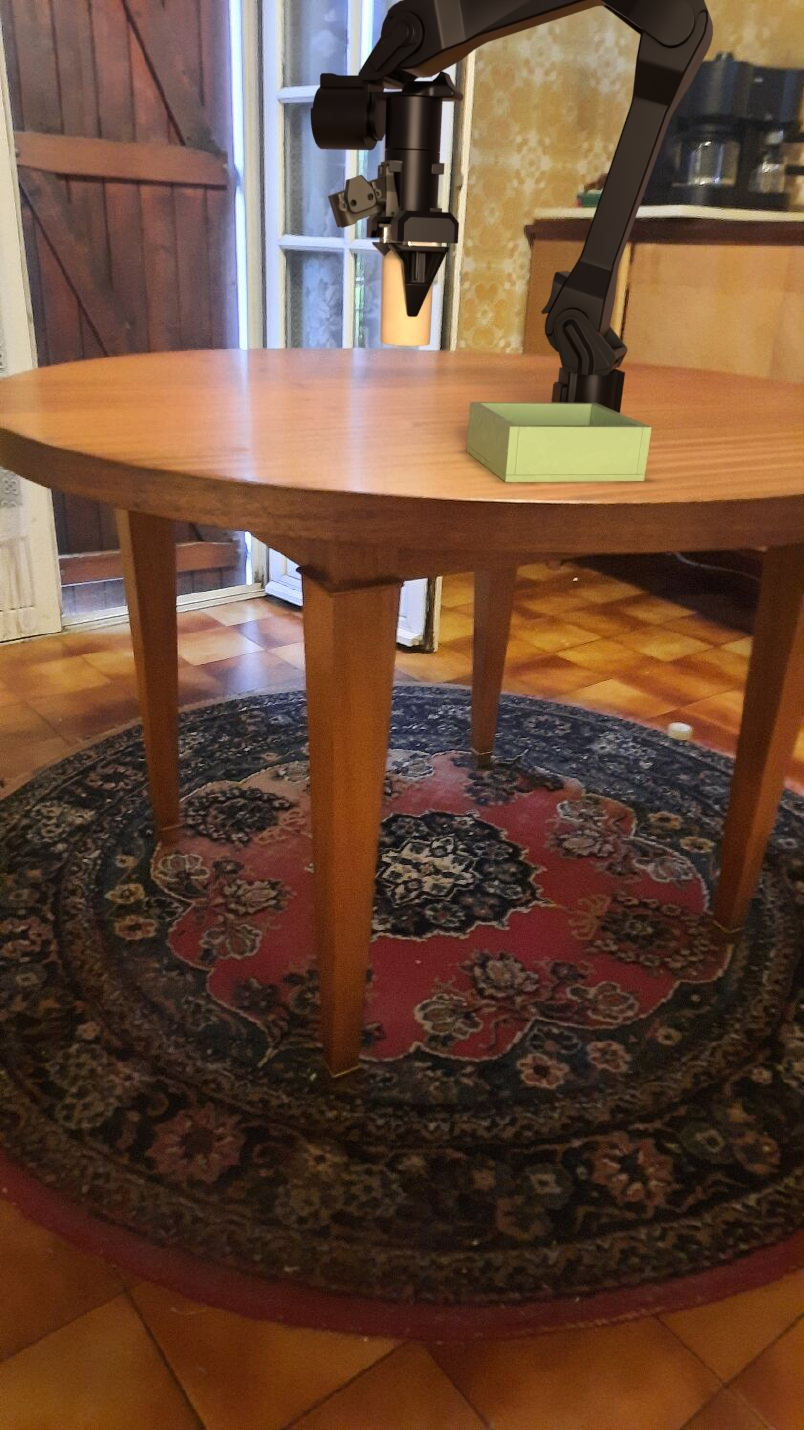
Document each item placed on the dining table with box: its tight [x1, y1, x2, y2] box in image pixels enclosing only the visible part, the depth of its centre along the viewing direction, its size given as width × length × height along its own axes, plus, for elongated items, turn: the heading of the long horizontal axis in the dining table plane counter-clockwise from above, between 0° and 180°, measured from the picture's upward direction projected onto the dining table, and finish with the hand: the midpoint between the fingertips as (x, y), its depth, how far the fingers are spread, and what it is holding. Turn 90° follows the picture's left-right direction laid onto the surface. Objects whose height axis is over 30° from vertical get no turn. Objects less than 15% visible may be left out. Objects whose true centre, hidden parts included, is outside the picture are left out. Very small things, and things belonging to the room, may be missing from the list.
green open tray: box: [466, 401, 653, 483], centre depth 92 cm, size 13×13×5 cm
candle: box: [380, 244, 434, 347], centre depth 110 cm, size 6×6×10 cm
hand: (406, 314), depth 111 cm, fingers closed on candle, 5 cm apart
